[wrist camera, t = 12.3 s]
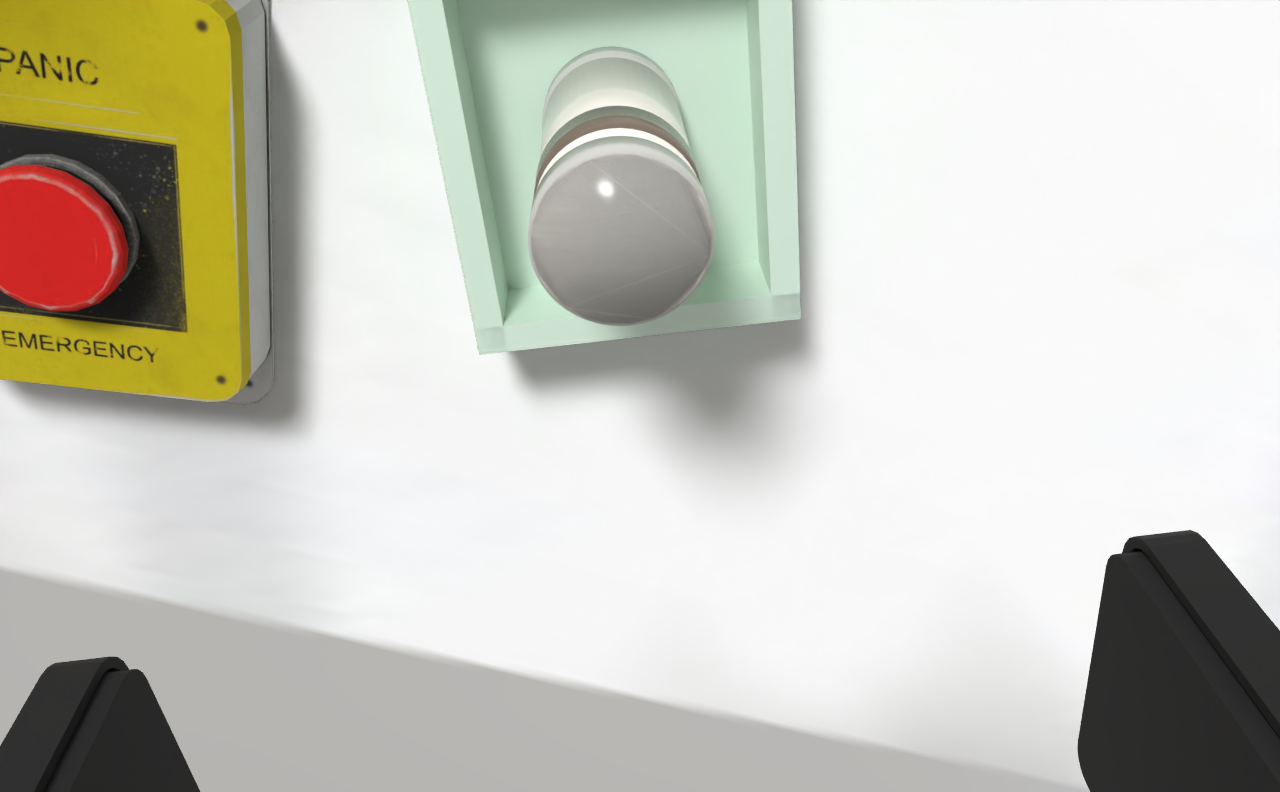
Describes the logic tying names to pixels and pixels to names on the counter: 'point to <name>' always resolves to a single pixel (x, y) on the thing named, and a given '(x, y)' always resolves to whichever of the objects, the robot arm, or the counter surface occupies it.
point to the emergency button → (137, 197)
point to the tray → (714, 125)
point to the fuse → (617, 193)
